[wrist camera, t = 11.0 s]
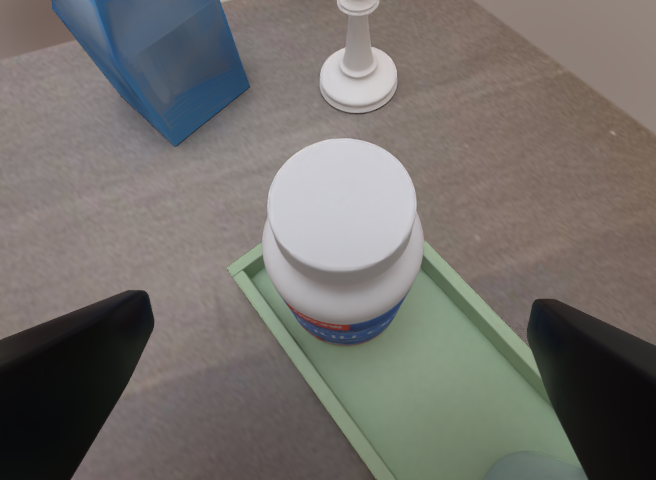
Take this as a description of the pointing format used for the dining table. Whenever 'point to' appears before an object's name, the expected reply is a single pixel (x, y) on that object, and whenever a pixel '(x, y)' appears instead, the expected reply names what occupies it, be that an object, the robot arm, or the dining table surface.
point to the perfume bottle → (161, 56)
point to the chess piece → (358, 66)
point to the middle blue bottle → (534, 467)
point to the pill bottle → (342, 239)
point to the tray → (422, 379)
